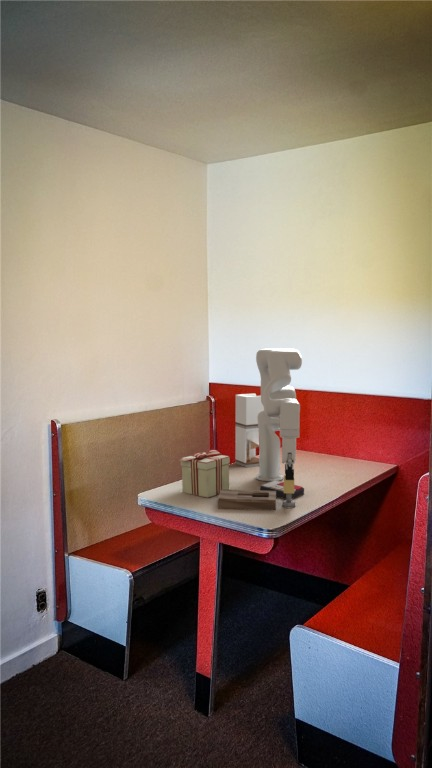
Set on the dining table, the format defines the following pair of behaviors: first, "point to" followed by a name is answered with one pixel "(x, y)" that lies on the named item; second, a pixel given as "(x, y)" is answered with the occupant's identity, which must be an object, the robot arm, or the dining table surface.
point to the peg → (288, 493)
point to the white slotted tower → (247, 429)
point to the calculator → (281, 489)
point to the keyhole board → (247, 499)
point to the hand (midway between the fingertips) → (289, 476)
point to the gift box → (205, 473)
